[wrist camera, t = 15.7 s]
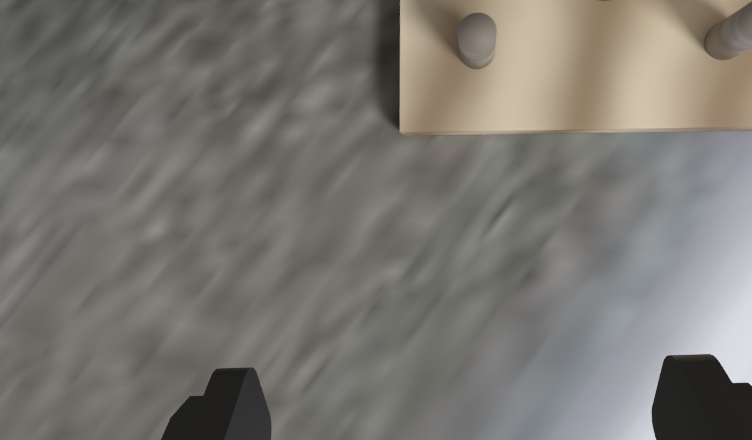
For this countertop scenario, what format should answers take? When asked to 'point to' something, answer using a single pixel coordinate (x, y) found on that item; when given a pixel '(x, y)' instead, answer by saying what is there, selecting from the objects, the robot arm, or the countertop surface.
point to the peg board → (574, 66)
